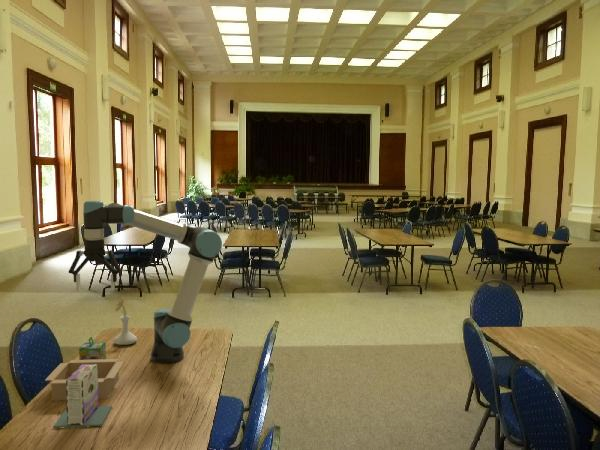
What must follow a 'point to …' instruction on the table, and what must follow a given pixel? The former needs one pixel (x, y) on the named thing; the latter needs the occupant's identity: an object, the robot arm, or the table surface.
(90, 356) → the chalk box
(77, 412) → the candy box
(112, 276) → the robot arm
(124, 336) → the flower in vase
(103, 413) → the mat
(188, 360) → the table surface
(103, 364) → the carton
